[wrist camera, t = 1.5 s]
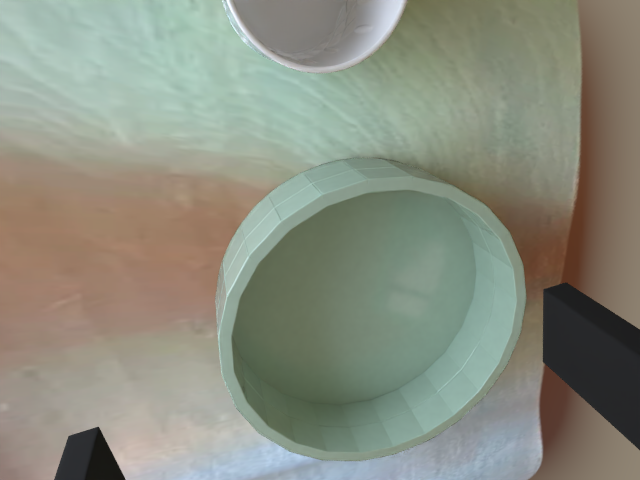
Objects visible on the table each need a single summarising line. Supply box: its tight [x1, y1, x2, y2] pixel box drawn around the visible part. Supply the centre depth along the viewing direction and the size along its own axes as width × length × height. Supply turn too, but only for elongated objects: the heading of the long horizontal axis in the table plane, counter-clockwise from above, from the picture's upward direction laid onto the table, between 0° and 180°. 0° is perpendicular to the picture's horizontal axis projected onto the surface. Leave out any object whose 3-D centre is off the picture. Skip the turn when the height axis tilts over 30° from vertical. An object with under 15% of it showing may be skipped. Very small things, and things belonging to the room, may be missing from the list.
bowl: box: [215, 158, 526, 461], centre depth 33 cm, size 21×21×6 cm
